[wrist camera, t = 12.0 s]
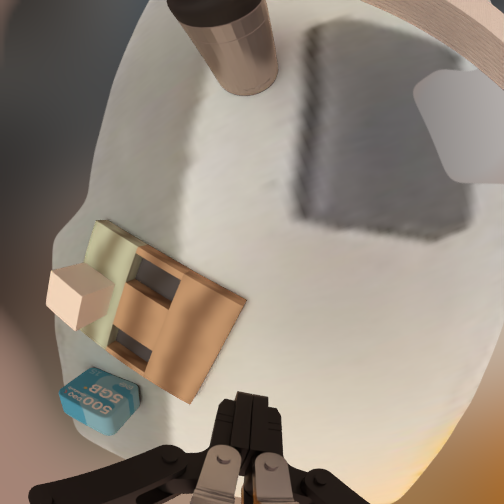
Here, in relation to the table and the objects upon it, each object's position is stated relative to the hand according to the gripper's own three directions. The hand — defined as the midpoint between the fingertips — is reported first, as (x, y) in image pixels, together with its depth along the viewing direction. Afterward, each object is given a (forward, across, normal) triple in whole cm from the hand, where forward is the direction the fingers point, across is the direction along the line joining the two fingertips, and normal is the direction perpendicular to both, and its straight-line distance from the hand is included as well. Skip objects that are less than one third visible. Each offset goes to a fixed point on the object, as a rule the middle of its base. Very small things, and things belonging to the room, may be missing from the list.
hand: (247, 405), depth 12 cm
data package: (+28, +21, +31) cm, 47 cm away
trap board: (+28, +15, +12) cm, 34 cm away
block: (+27, +24, +10) cm, 38 cm away
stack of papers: (+28, -24, -51) cm, 63 cm away
